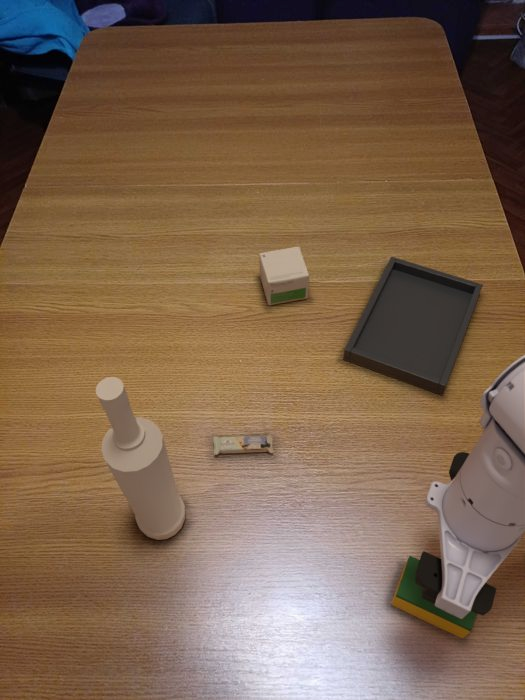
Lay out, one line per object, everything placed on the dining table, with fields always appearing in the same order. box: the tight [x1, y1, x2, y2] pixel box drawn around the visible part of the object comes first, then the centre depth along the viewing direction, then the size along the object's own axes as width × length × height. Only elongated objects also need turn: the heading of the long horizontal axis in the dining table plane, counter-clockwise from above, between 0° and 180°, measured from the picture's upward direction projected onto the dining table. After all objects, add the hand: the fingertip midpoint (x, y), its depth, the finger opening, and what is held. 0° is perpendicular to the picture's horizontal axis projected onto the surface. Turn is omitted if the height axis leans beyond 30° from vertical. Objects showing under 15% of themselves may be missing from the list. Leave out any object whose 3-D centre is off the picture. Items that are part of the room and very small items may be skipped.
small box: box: [258, 245, 310, 306], centre depth 82 cm, size 6×6×5 cm
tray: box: [342, 256, 484, 396], centre depth 79 cm, size 13×18×2 cm
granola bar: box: [212, 434, 274, 456], centre depth 69 cm, size 7×2×1 cm, turn 92°
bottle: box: [95, 376, 186, 541], centre depth 55 cm, size 5×5×25 cm
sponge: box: [390, 555, 477, 639], centre depth 58 cm, size 7×4×4 cm, turn 64°
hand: (447, 557), depth 52 cm, fingers open, 7 cm apart
